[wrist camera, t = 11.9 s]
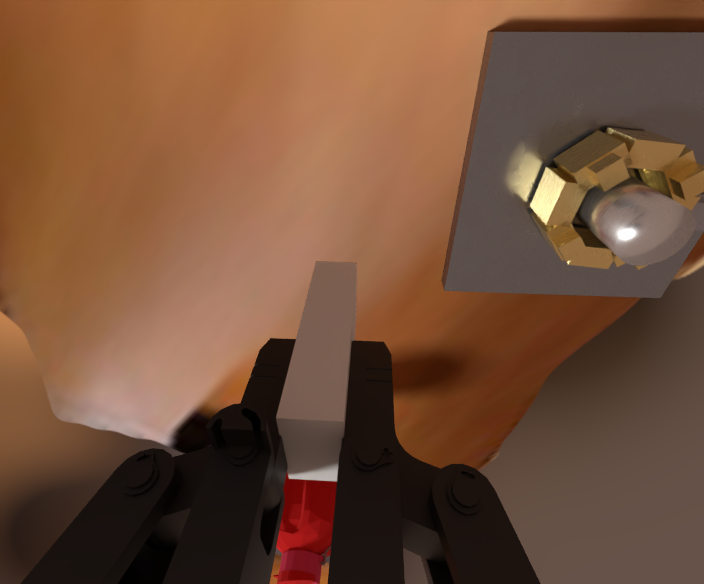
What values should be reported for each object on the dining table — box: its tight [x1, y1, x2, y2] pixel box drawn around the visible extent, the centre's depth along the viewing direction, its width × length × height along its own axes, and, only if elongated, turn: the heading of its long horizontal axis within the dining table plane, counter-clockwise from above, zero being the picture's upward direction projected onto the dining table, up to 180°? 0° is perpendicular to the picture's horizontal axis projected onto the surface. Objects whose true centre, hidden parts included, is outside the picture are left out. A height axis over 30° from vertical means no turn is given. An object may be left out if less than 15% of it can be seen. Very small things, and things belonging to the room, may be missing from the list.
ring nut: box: [530, 127, 704, 270], centre depth 31 cm, size 21×11×6 cm, turn 85°
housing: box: [442, 32, 704, 298], centre depth 30 cm, size 24×24×11 cm
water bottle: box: [274, 473, 337, 584], centre depth 45 cm, size 9×11×25 cm
